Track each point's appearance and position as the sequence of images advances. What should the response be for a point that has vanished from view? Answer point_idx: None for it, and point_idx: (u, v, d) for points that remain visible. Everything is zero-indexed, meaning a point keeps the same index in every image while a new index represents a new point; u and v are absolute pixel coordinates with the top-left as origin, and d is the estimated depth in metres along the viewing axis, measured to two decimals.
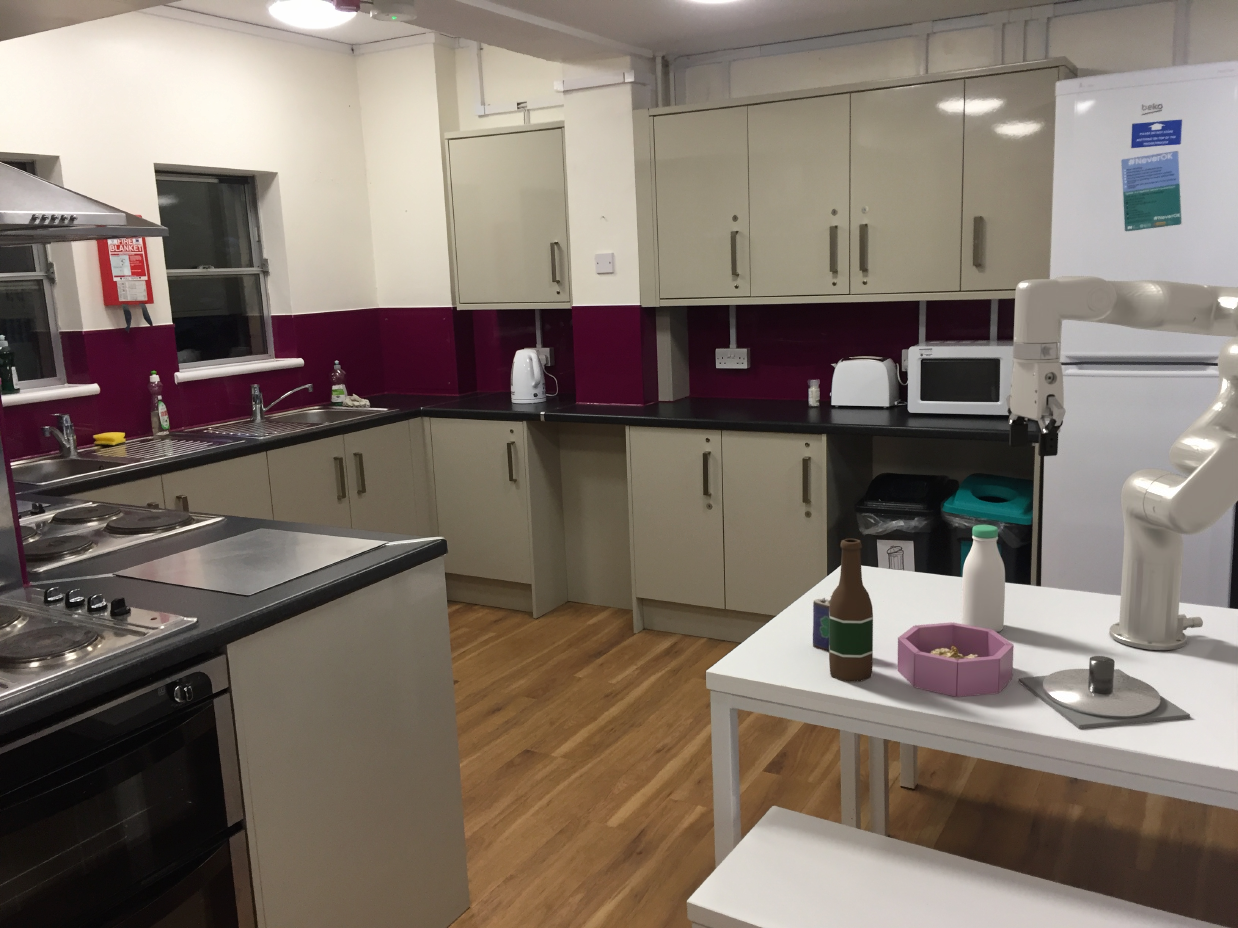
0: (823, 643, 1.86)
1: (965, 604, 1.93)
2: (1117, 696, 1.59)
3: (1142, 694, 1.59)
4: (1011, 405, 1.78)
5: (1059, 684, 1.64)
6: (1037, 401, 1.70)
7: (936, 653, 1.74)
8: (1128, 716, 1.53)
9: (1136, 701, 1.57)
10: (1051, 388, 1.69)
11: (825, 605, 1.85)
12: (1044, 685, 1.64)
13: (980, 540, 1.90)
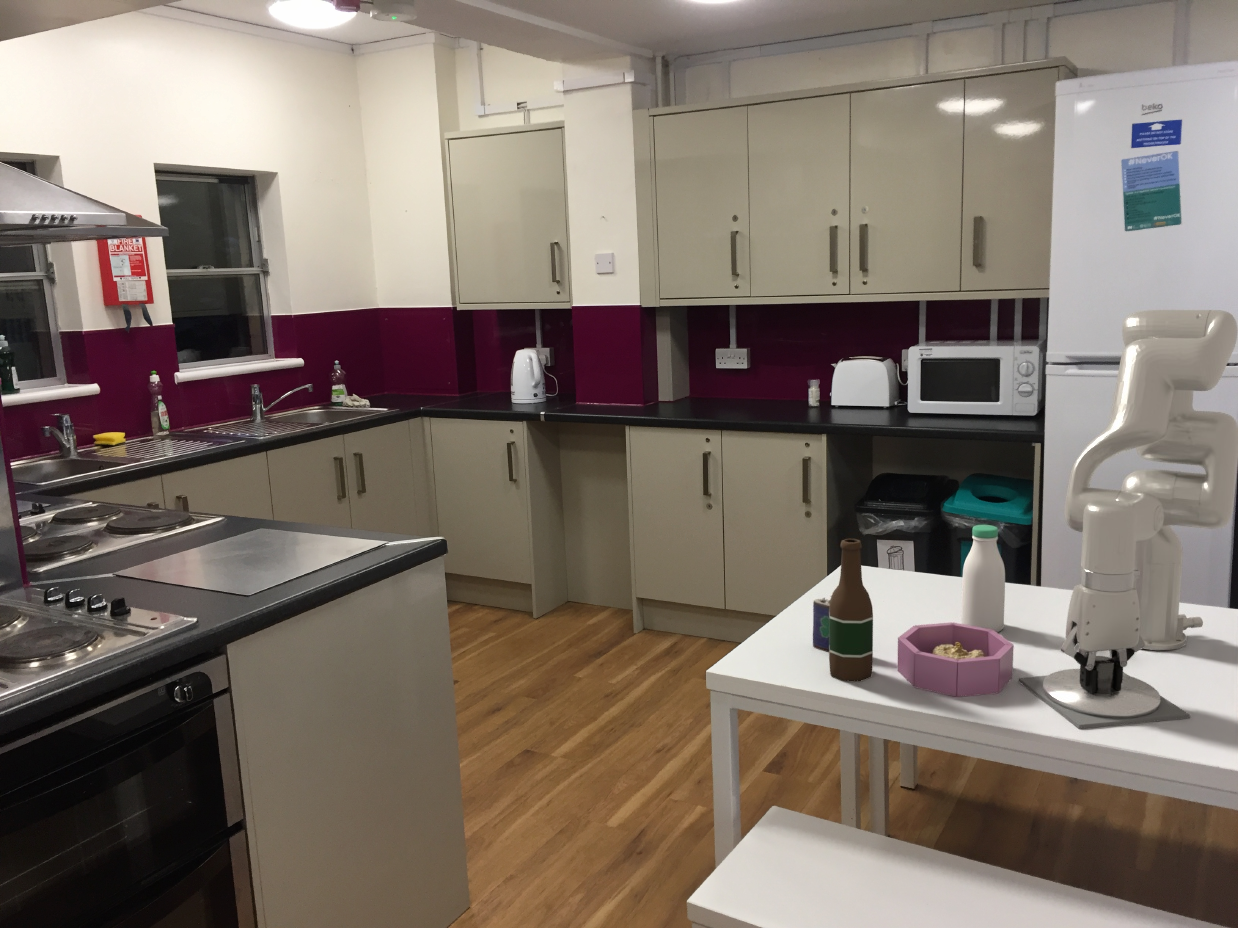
0: (823, 643, 1.86)
1: (965, 604, 1.93)
2: (1117, 696, 1.59)
3: (1142, 694, 1.59)
4: (1087, 643, 1.57)
5: (1059, 684, 1.64)
6: (1138, 628, 1.58)
7: (940, 649, 1.76)
8: (1128, 716, 1.53)
9: (1136, 701, 1.57)
10: None
11: (825, 605, 1.85)
12: (1044, 685, 1.64)
13: (980, 540, 1.90)
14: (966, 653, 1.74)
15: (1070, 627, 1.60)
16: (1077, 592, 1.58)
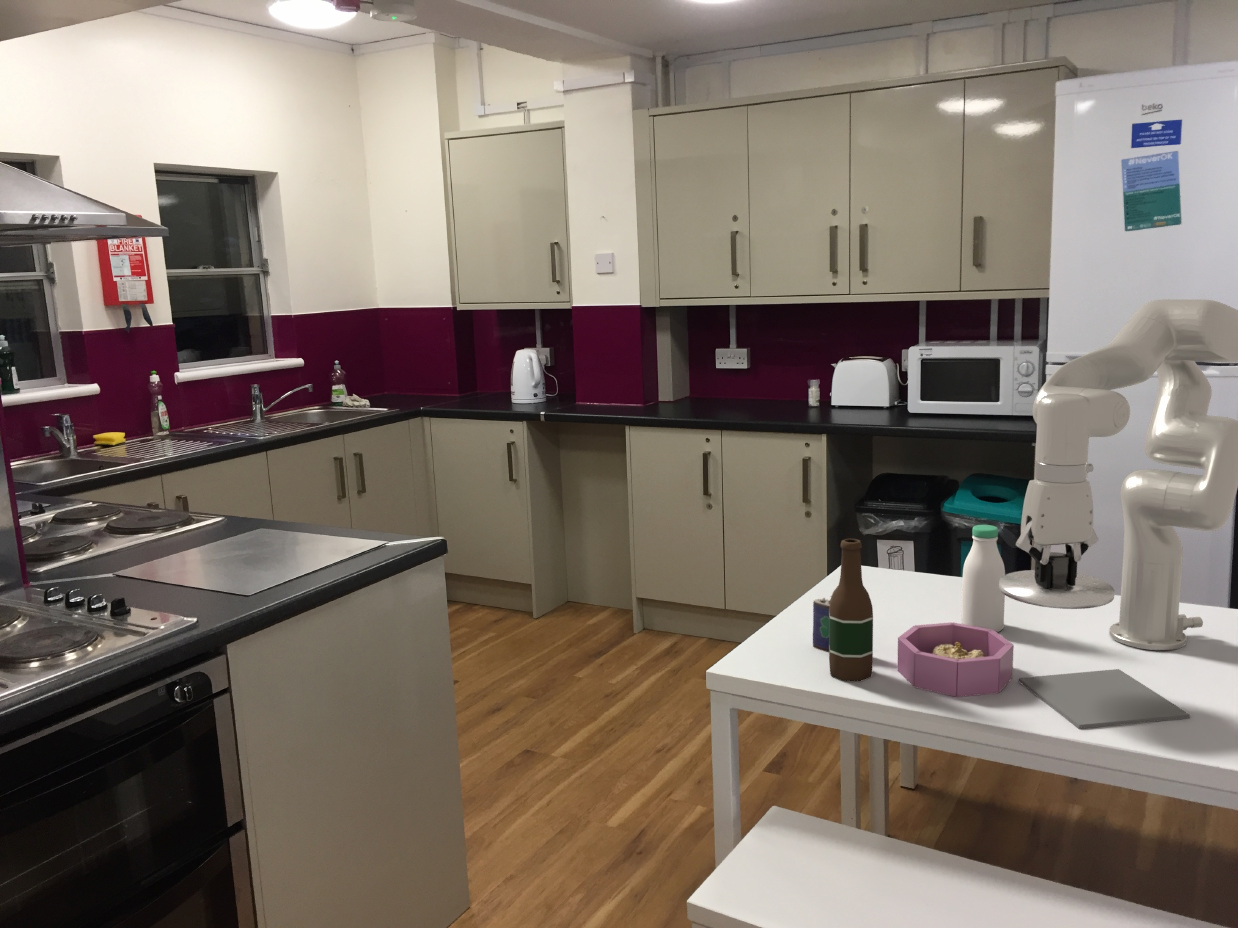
0: (823, 643, 1.86)
1: (965, 604, 1.93)
2: (1072, 590, 1.59)
3: (1096, 588, 1.60)
4: (1042, 536, 1.58)
5: (1015, 582, 1.64)
6: (1092, 521, 1.59)
7: (940, 649, 1.76)
8: (1083, 606, 1.54)
9: (1091, 593, 1.57)
10: None
11: (825, 605, 1.85)
12: (1000, 583, 1.64)
13: (980, 540, 1.90)
14: (966, 653, 1.74)
15: (1025, 522, 1.60)
16: (1032, 486, 1.59)
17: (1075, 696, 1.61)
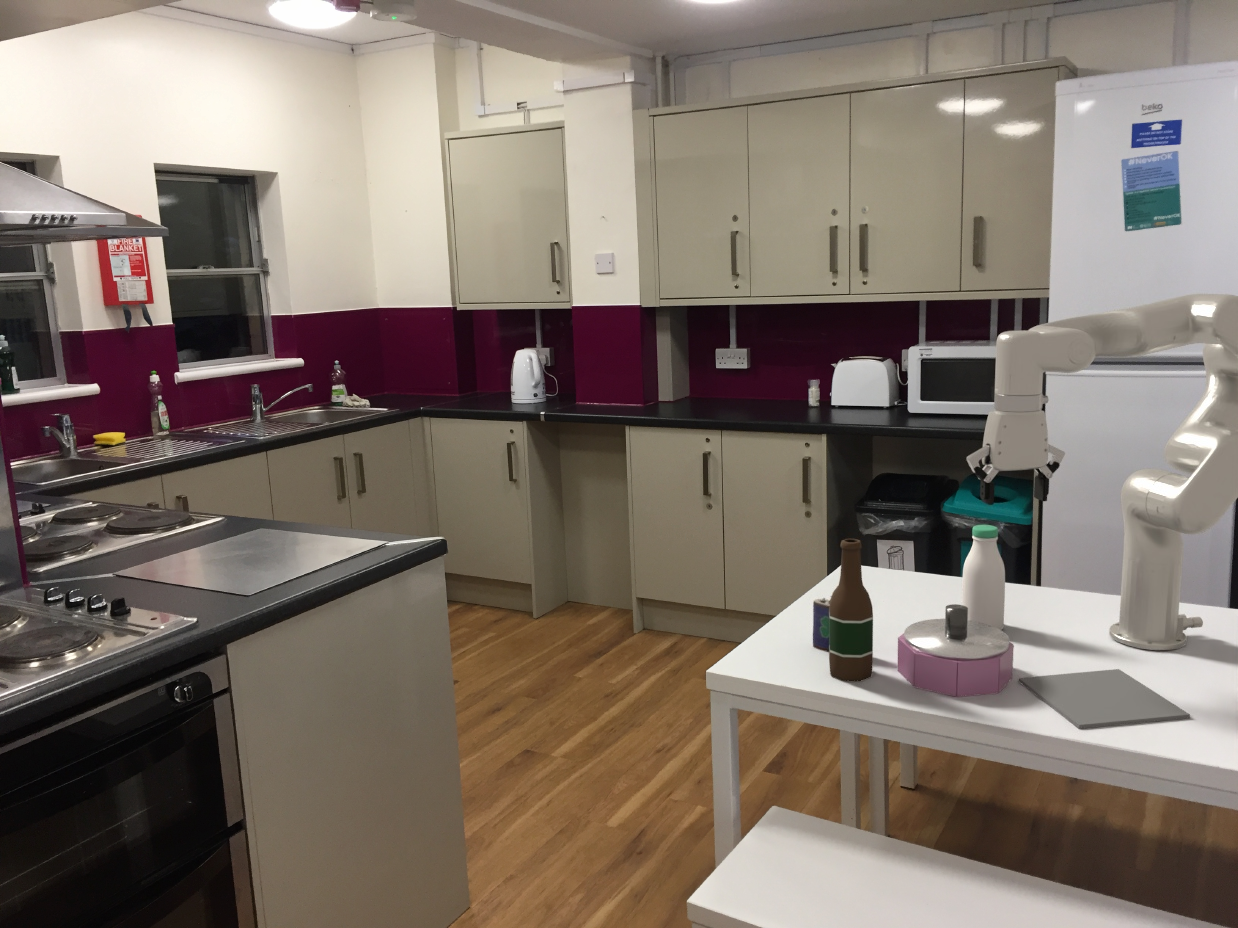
0: (823, 643, 1.86)
1: (965, 604, 1.93)
2: (969, 641, 1.69)
3: (993, 639, 1.70)
4: (999, 462, 1.71)
5: (919, 631, 1.75)
6: (1047, 449, 1.72)
7: None
8: (975, 658, 1.64)
9: (985, 645, 1.67)
10: None
11: (825, 605, 1.85)
12: (905, 632, 1.74)
13: (980, 540, 1.90)
14: None
15: None
16: (991, 416, 1.72)
17: (1075, 696, 1.61)
